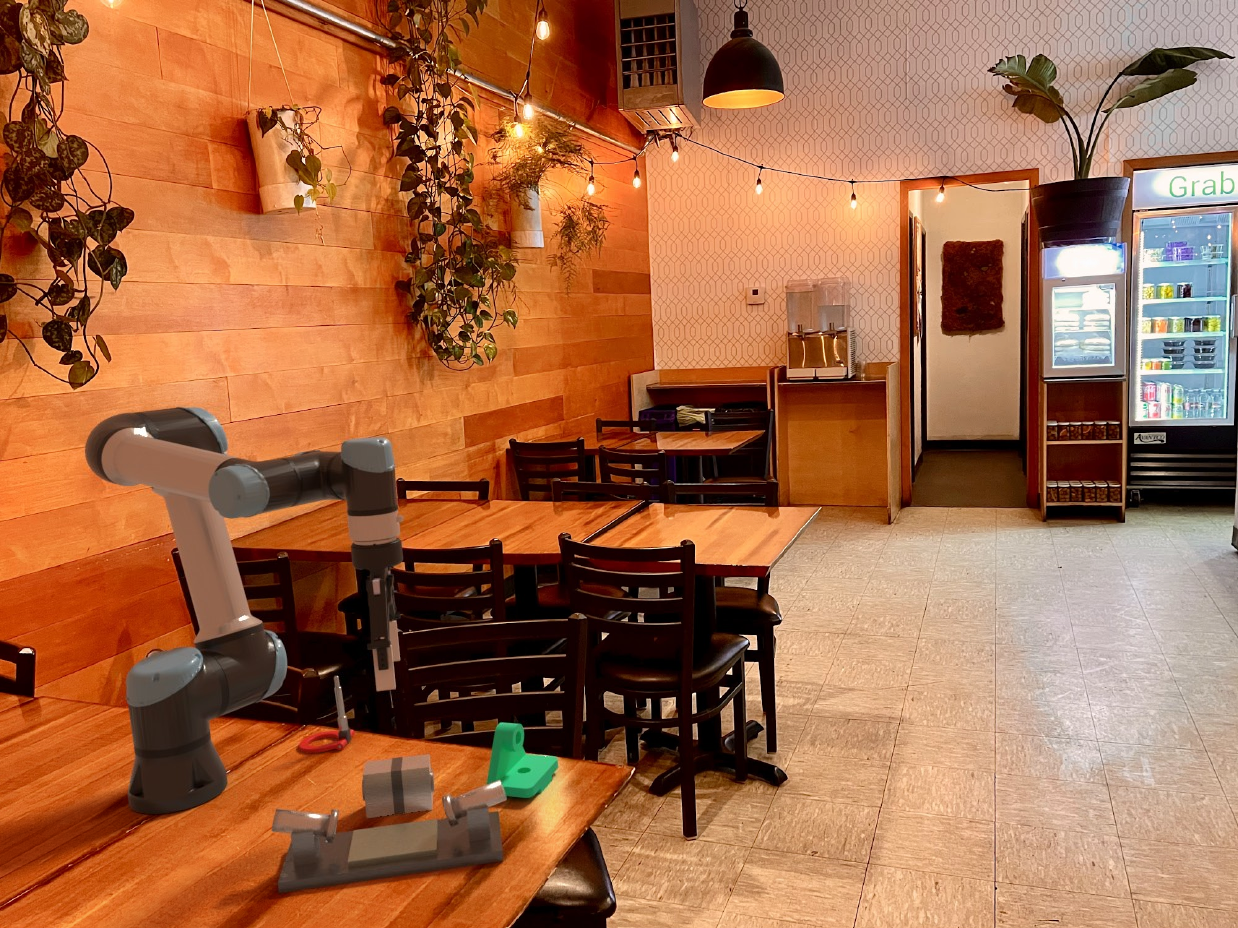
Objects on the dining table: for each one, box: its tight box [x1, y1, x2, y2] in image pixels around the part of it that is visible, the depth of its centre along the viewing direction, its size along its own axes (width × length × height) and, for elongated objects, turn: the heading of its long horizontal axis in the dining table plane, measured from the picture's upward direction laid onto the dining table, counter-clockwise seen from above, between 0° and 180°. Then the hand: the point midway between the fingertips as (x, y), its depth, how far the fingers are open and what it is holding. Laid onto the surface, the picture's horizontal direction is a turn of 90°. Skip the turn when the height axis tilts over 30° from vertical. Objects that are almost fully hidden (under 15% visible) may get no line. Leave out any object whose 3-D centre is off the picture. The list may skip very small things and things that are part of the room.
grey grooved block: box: [361, 753, 435, 819], centre depth 155 cm, size 11×5×7 cm, turn 100°
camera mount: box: [485, 722, 559, 799], centre depth 160 cm, size 12×8×10 cm, turn 161°
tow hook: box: [298, 675, 356, 754], centre depth 182 cm, size 8×13×9 cm
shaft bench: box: [271, 780, 508, 894], centre depth 140 cm, size 32×12×9 cm, turn 100°
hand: (388, 674), depth 153 cm, fingers open, 13 cm apart
